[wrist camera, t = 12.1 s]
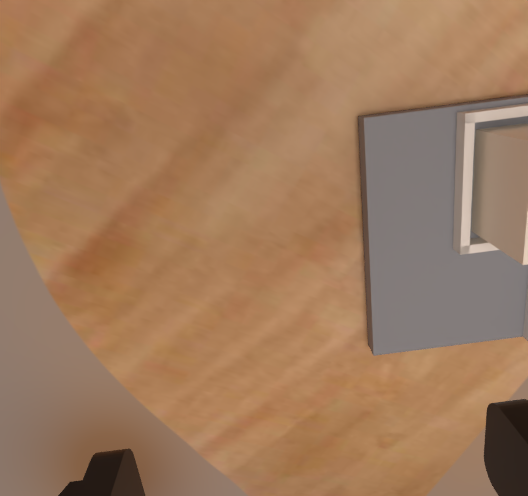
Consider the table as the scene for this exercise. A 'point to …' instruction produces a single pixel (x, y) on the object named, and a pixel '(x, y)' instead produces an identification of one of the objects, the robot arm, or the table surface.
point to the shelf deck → (434, 231)
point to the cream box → (502, 189)
